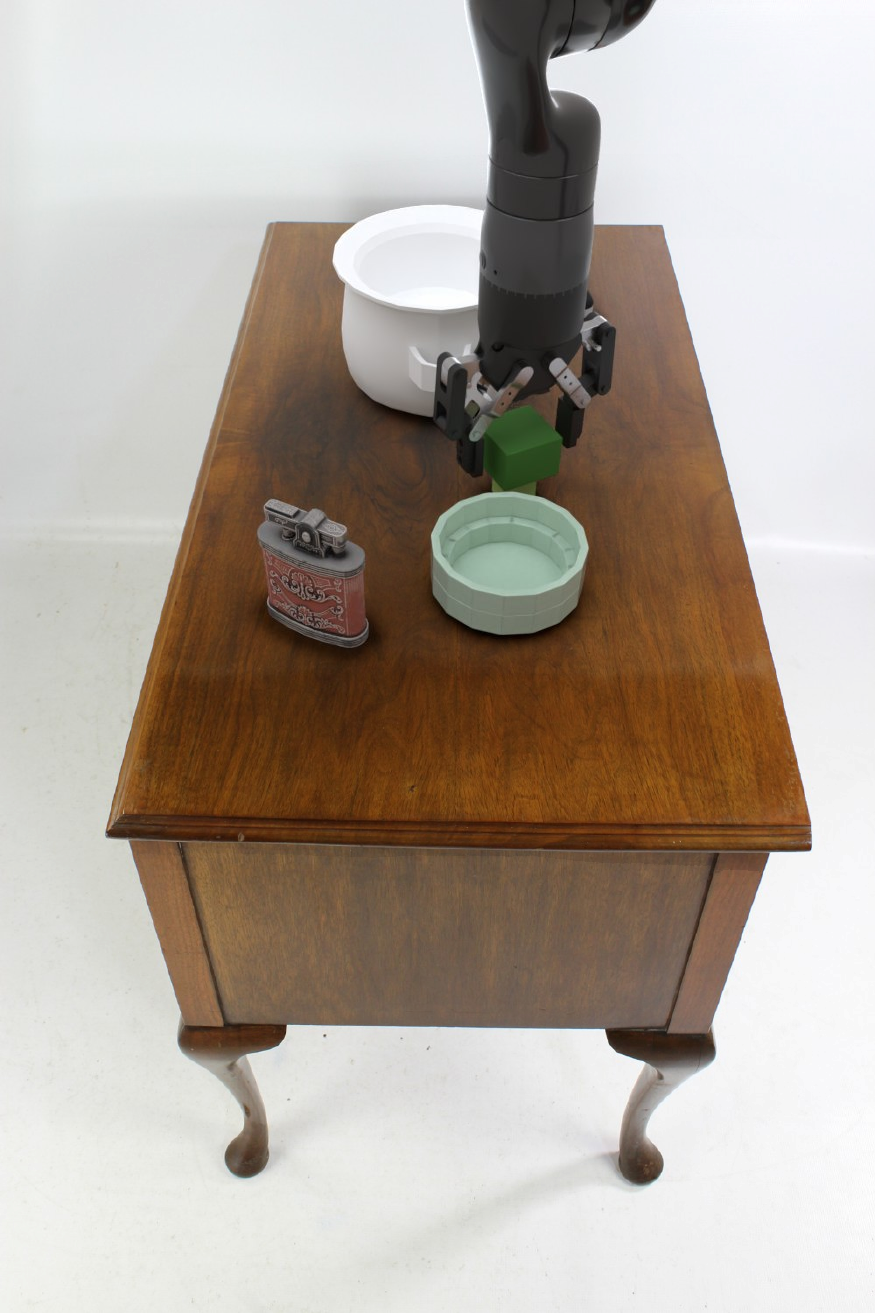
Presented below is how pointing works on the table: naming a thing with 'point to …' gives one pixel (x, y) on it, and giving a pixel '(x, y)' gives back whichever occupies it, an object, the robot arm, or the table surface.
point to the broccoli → (520, 451)
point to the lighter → (313, 575)
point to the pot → (409, 299)
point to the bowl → (508, 562)
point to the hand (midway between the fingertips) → (519, 456)
